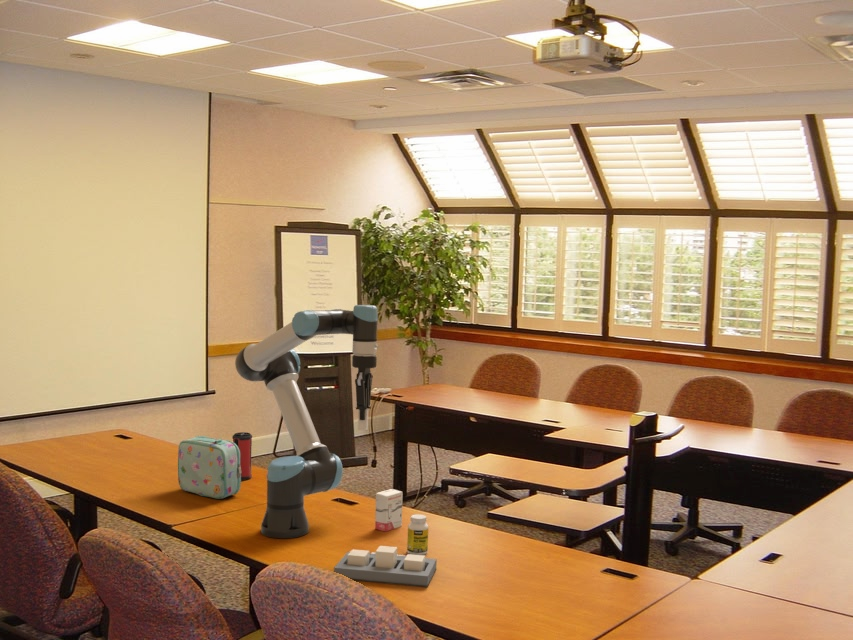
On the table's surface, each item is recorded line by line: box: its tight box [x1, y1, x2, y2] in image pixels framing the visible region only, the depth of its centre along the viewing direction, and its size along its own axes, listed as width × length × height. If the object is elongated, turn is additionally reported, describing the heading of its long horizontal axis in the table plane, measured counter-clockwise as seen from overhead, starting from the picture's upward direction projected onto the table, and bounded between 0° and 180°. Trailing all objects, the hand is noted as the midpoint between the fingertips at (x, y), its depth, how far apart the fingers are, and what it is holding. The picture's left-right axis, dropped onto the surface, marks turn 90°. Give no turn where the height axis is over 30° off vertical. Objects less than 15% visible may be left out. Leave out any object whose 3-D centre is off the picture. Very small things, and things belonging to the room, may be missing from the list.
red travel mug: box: [231, 431, 253, 481], centre depth 340 cm, size 8×8×18 cm
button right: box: [404, 553, 426, 571], centre depth 236 cm, size 5×5×4 cm
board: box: [333, 550, 437, 588], centre depth 238 cm, size 26×14×3 cm, turn 80°
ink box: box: [374, 488, 404, 532], centre depth 281 cm, size 9×5×12 cm, turn 142°
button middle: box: [375, 545, 398, 568], centre depth 238 cm, size 5×5×4 cm
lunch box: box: [177, 435, 242, 500], centre depth 316 cm, size 27×10×21 cm, turn 58°
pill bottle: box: [406, 514, 429, 556], centre depth 256 cm, size 6×6×11 cm
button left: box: [347, 548, 370, 566], centre depth 239 cm, size 5×5×4 cm
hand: (362, 429), depth 267 cm, fingers closed
